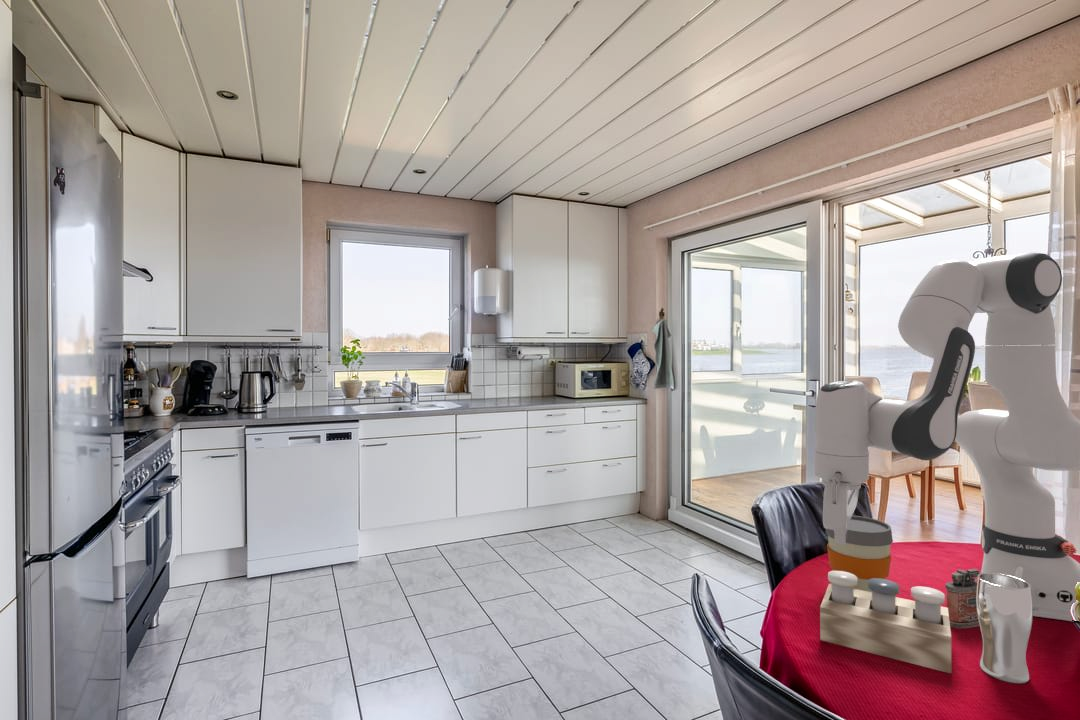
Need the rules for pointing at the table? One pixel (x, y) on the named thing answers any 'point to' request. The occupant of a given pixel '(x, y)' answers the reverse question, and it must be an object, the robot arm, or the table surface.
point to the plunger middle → (883, 595)
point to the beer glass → (1004, 625)
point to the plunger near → (928, 604)
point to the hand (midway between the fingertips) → (840, 541)
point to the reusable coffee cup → (862, 550)
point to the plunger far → (842, 586)
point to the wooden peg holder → (887, 630)
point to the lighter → (962, 599)
